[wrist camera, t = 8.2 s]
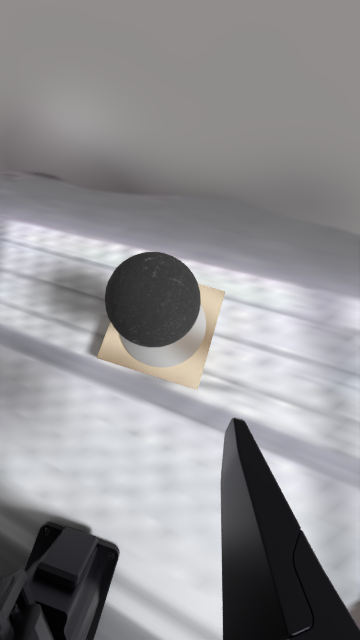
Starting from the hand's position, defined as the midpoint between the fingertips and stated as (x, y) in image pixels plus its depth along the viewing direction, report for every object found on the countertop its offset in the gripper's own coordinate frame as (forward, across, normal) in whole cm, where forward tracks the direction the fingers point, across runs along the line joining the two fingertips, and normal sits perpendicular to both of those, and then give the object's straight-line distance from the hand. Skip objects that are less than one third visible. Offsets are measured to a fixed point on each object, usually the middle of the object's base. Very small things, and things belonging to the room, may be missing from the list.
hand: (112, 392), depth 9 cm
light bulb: (+12, 0, +5) cm, 13 cm away
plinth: (+13, 0, +6) cm, 15 cm away
